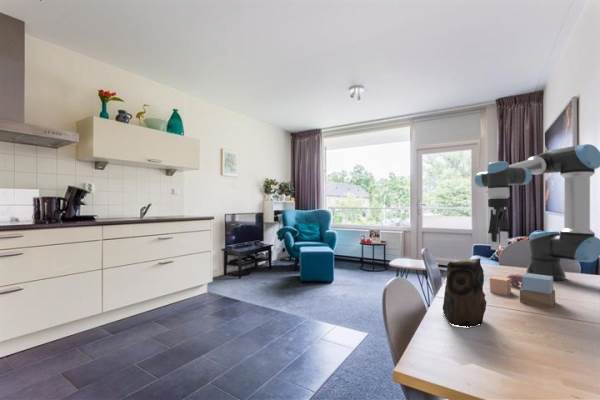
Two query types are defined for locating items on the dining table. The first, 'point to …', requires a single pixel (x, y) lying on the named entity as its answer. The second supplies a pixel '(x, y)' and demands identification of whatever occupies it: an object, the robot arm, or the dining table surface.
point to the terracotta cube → (500, 285)
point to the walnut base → (537, 298)
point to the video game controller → (515, 279)
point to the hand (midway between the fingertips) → (499, 248)
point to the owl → (464, 293)
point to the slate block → (537, 283)
